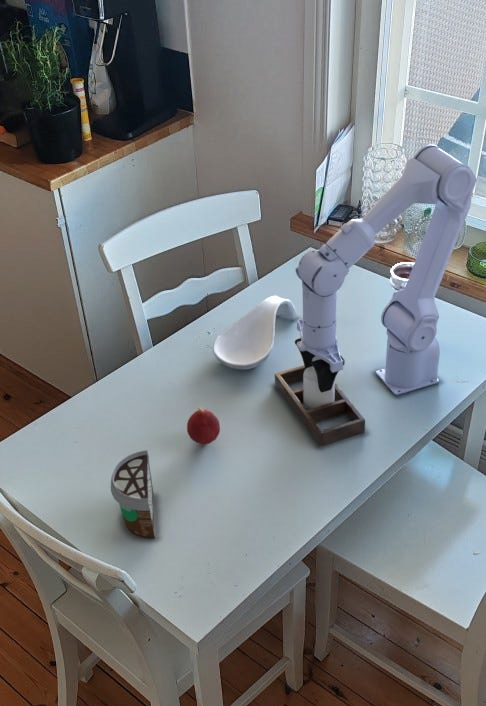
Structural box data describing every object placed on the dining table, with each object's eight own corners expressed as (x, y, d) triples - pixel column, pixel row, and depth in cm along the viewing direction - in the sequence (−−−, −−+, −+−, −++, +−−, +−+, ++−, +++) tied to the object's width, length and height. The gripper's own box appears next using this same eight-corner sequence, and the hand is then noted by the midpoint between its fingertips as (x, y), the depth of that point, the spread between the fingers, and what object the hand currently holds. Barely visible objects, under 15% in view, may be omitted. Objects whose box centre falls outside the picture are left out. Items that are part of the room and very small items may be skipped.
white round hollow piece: (422, 331, 187) (427, 279, 179) (388, 332, 188) (392, 281, 180) (418, 312, 192) (423, 261, 184) (385, 313, 193) (389, 262, 185)
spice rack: (317, 373, 179) (318, 361, 177) (364, 432, 166) (365, 420, 163) (274, 386, 177) (274, 373, 175) (318, 447, 163) (319, 434, 161)
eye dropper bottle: (321, 418, 168) (322, 365, 160) (299, 404, 171) (299, 352, 163) (338, 406, 170) (339, 354, 162) (315, 393, 173) (316, 341, 165)
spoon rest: (254, 385, 177) (253, 354, 172) (202, 368, 182) (200, 338, 177) (311, 322, 192) (311, 292, 187) (261, 308, 197) (260, 279, 192)
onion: (225, 435, 167) (222, 401, 161) (214, 456, 163) (211, 421, 157) (195, 430, 168) (192, 395, 163) (184, 450, 164) (179, 415, 159)
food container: (118, 495, 157) (109, 451, 150) (154, 491, 157) (147, 447, 150) (116, 548, 148) (107, 505, 141) (155, 545, 148) (147, 501, 141)
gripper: (280, 303, 162) (282, 365, 171) (316, 347, 152) (316, 410, 161) (317, 293, 163) (316, 355, 173) (355, 336, 153) (352, 399, 163)
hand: (318, 381), depth 167 cm, fingers closed on eye dropper bottle, 5 cm apart
